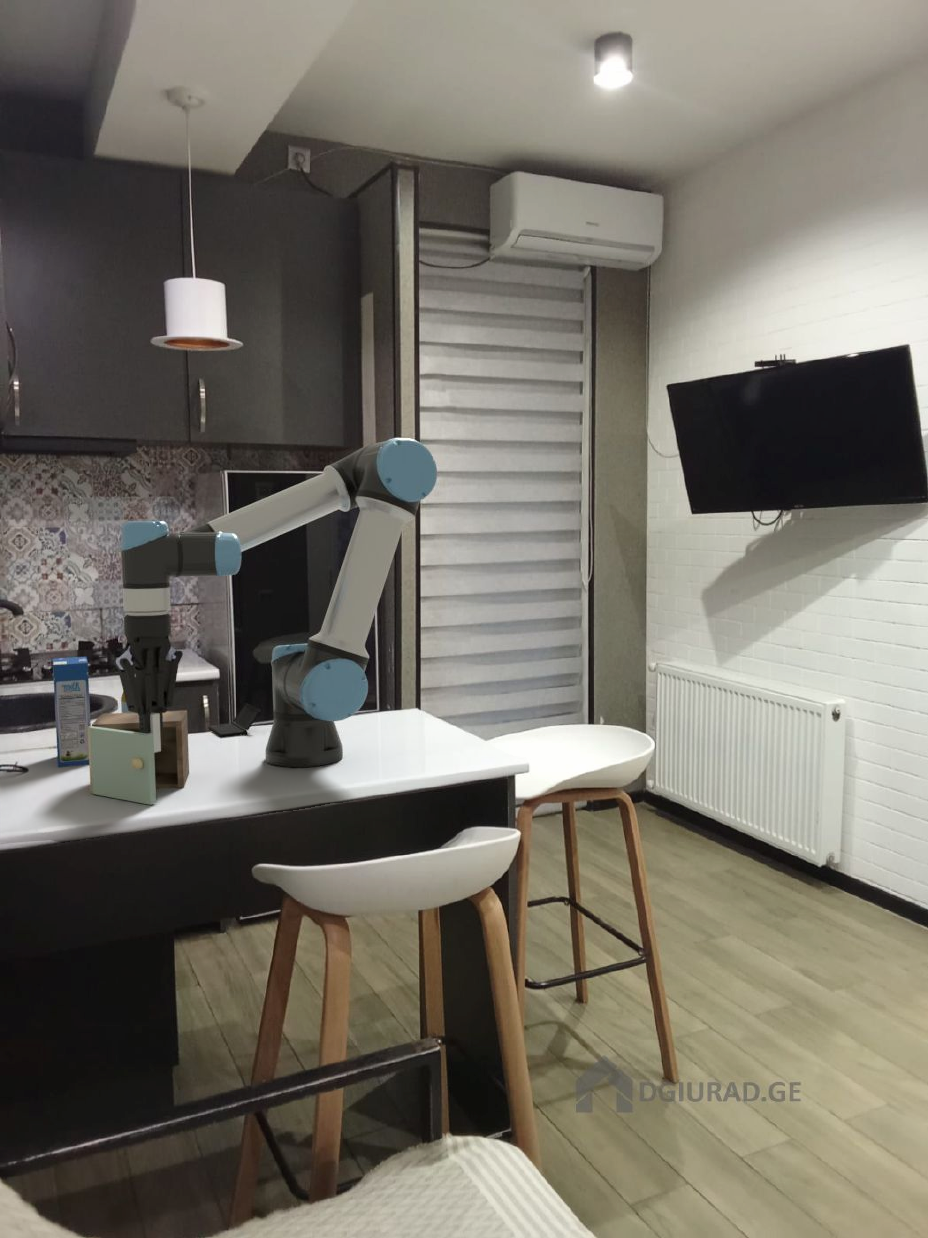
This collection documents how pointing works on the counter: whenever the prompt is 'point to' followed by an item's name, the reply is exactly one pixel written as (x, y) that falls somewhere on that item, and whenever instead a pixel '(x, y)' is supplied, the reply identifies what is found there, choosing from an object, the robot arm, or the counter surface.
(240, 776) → the counter surface
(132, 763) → the cabinet door
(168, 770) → the walnut cabinet
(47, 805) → the counter surface
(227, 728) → the handheld gaming console
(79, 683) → the milk carton
